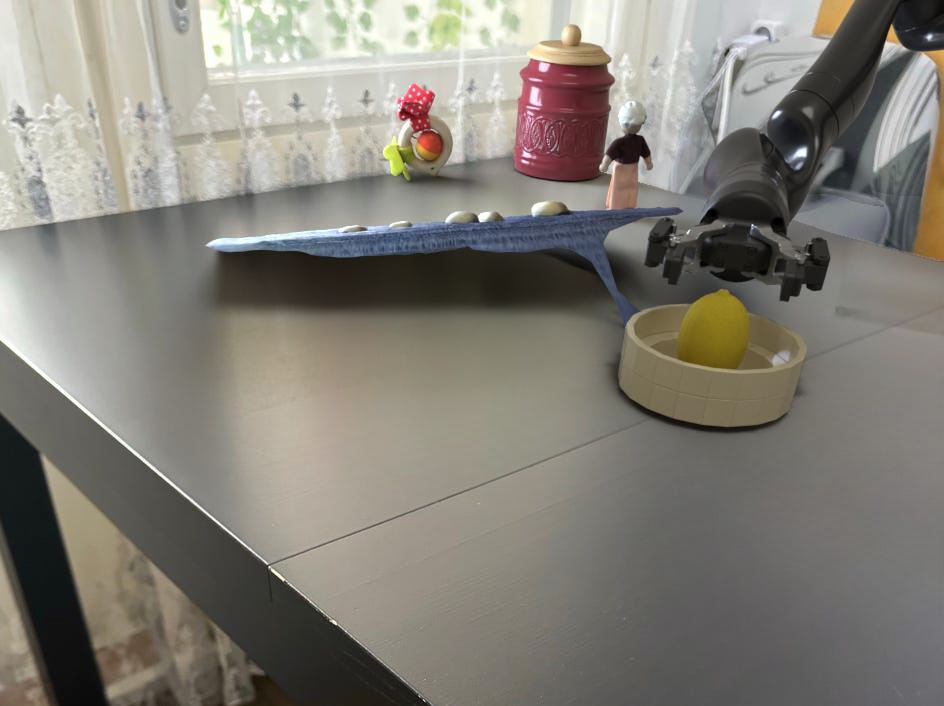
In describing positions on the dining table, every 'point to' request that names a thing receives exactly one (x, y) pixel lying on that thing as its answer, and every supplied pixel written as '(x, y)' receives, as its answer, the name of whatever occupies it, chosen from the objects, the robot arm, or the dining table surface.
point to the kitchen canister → (563, 109)
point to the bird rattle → (419, 136)
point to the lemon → (714, 332)
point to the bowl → (709, 372)
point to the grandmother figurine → (627, 158)
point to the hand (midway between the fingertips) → (729, 280)
